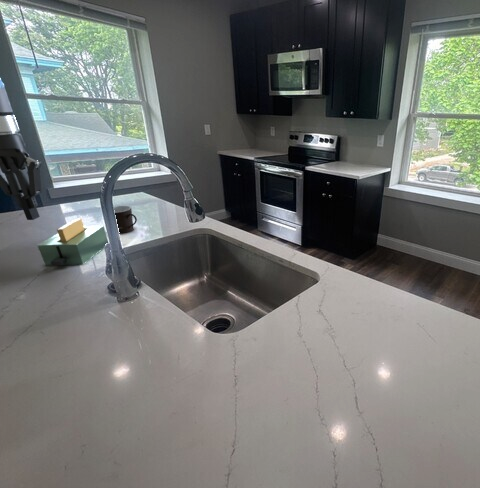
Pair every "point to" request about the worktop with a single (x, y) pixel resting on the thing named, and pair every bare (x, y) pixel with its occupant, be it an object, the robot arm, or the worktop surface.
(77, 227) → the toast
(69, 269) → the worktop surface
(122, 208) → the coffee mug
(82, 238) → the toaster
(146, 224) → the worktop surface
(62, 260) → the toaster lever
